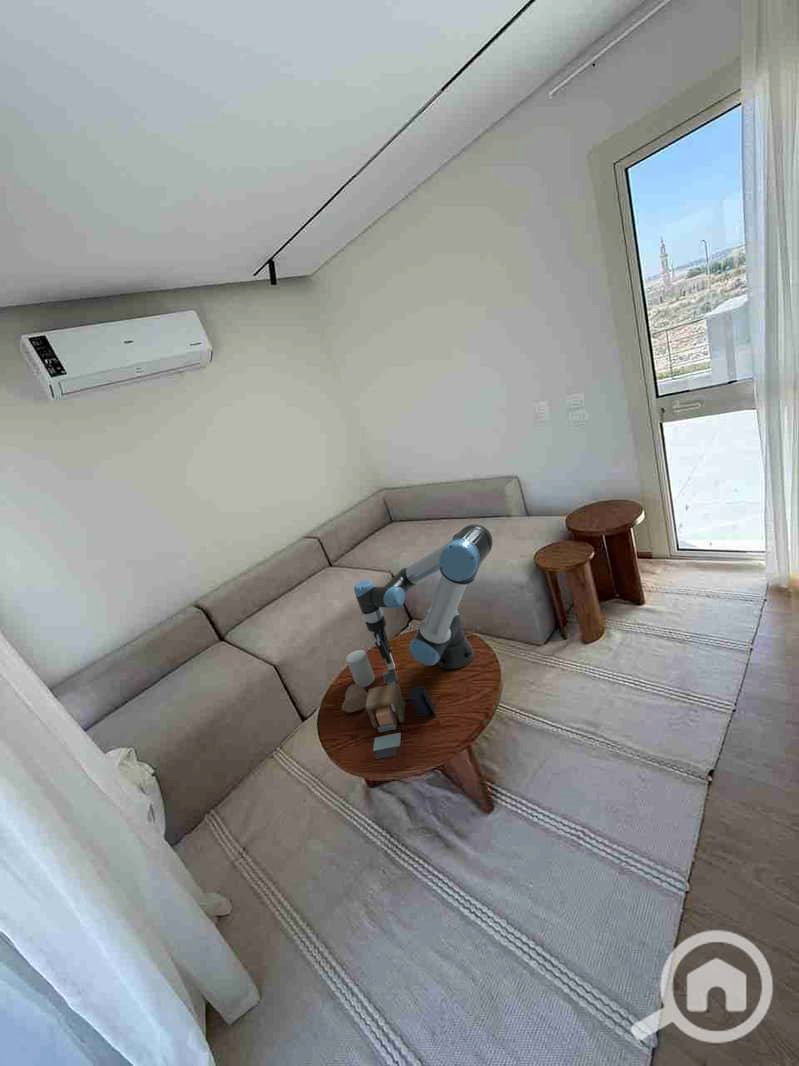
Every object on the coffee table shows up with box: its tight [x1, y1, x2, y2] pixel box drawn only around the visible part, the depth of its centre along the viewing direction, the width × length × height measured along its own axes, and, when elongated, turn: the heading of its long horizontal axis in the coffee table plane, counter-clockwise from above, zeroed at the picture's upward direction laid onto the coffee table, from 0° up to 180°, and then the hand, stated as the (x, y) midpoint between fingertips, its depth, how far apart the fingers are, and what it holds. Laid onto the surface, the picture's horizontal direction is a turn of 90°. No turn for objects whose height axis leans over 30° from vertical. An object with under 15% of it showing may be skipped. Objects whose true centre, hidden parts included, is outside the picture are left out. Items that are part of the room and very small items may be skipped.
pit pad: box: [374, 747, 398, 760], centre depth 139 cm, size 7×3×1 cm, turn 87°
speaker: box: [408, 683, 437, 717], centre depth 150 cm, size 8×6×10 cm
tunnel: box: [365, 682, 406, 728], centre depth 154 cm, size 11×9×9 cm
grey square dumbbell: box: [377, 669, 399, 733], centre depth 159 cm, size 6×26×5 cm, turn 177°
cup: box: [345, 649, 376, 688], centre depth 177 cm, size 8×8×12 cm
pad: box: [372, 732, 402, 752], centre depth 144 cm, size 9×6×1 cm, turn 87°
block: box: [376, 705, 394, 726], centre depth 150 cm, size 5×5×5 cm
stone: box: [341, 683, 368, 713], centre depth 165 cm, size 12×9×10 cm
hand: (391, 667), depth 177 cm, fingers closed
